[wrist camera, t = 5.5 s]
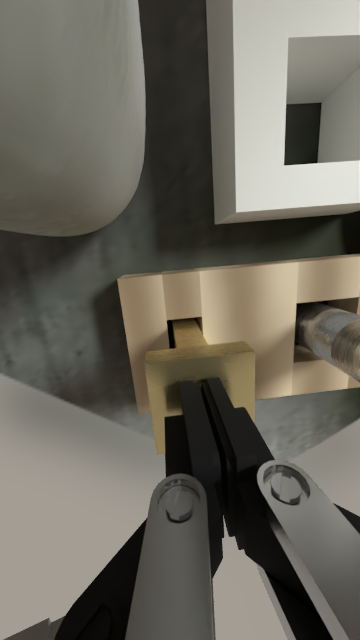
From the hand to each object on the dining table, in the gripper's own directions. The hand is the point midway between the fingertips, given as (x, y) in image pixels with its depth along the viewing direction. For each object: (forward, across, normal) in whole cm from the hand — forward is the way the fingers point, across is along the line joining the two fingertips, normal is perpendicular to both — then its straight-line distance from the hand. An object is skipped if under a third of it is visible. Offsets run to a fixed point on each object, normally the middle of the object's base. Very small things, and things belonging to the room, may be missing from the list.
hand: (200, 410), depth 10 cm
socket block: (+10, -5, 0) cm, 11 cm away
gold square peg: (+9, 0, 0) cm, 9 cm away
